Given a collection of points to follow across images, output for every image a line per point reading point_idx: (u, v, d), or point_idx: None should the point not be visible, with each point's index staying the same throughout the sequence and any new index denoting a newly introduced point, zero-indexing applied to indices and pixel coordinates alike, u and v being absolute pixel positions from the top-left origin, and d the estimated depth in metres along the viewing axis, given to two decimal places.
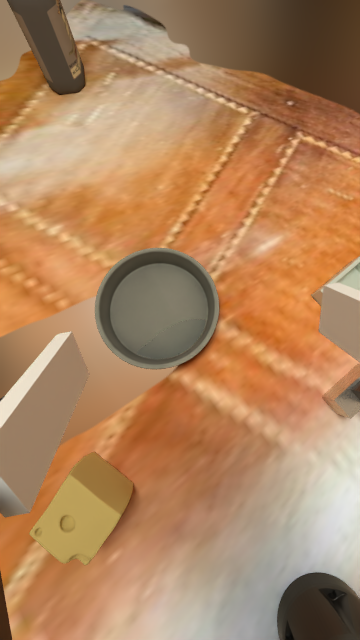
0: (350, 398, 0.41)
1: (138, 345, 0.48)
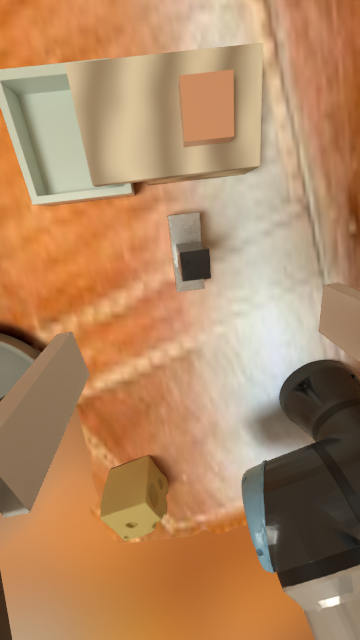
0: None
1: None
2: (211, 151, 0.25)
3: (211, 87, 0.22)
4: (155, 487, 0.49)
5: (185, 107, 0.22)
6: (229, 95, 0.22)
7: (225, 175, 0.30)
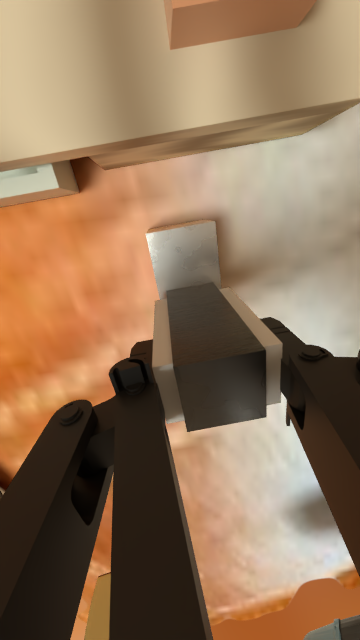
0: None
1: None
2: (247, 58, 0.09)
3: None
4: None
5: None
6: None
7: (265, 138, 0.14)
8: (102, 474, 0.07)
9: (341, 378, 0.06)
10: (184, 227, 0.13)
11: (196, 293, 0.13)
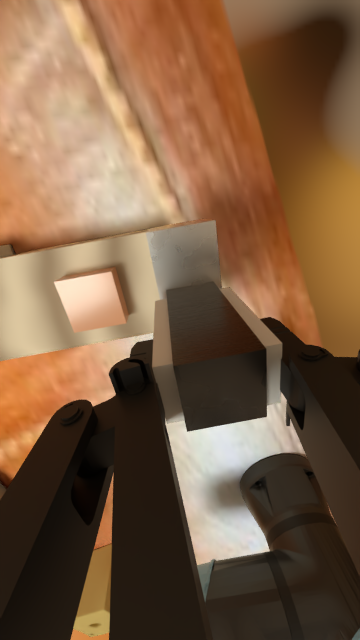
0: None
1: None
2: None
3: (90, 288, 0.20)
4: None
5: (67, 306, 0.21)
6: (112, 292, 0.21)
7: None
8: (102, 474, 0.07)
9: (341, 378, 0.06)
10: (184, 226, 0.13)
11: (196, 292, 0.13)
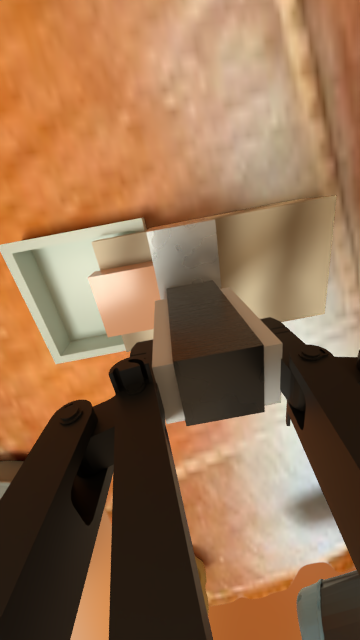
0: None
1: None
2: (267, 306, 0.21)
3: (130, 285, 0.17)
4: None
5: (101, 306, 0.18)
6: (154, 290, 0.17)
7: None
8: (102, 474, 0.07)
9: (341, 378, 0.06)
10: (184, 225, 0.13)
11: (196, 291, 0.13)
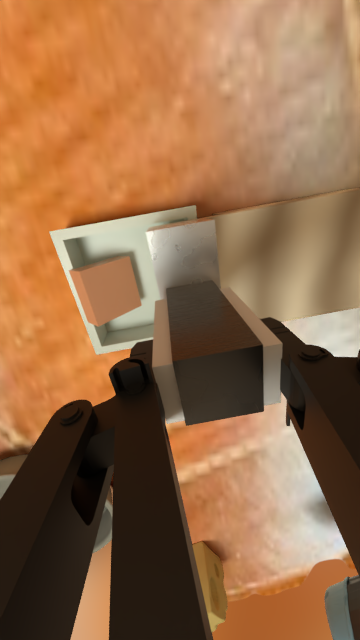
0: None
1: None
2: (316, 297, 0.21)
3: None
4: (214, 579, 0.46)
5: None
6: None
7: None
8: (102, 474, 0.07)
9: (341, 378, 0.06)
10: (184, 225, 0.13)
11: (195, 291, 0.13)
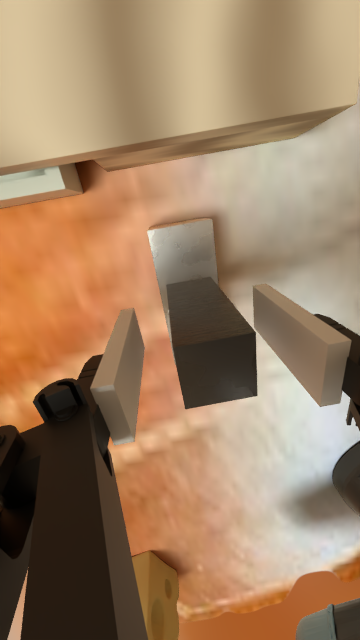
0: None
1: None
2: (240, 70, 0.10)
3: None
4: (161, 602, 0.35)
5: None
6: None
7: (259, 141, 0.15)
8: (34, 501, 0.07)
9: None
10: (183, 224, 0.14)
11: (194, 286, 0.14)
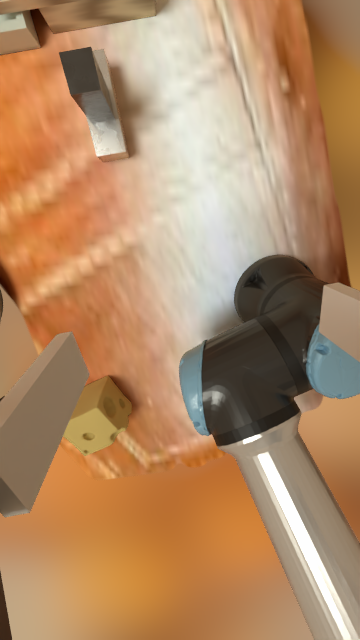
0: (103, 132, 0.30)
1: None
2: None
3: None
4: (114, 403, 0.48)
5: None
6: None
7: (133, 14, 0.28)
8: None
9: None
10: None
11: None
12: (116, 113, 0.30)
